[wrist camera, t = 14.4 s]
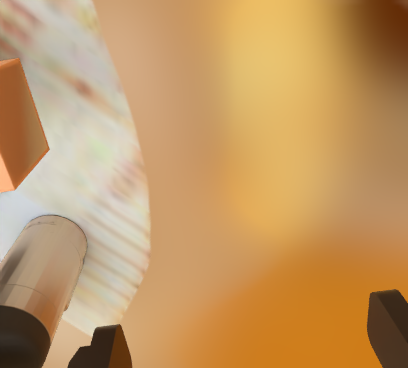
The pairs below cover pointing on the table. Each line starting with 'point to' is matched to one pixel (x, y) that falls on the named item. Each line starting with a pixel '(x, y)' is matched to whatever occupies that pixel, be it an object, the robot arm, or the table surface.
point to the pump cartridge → (18, 127)
